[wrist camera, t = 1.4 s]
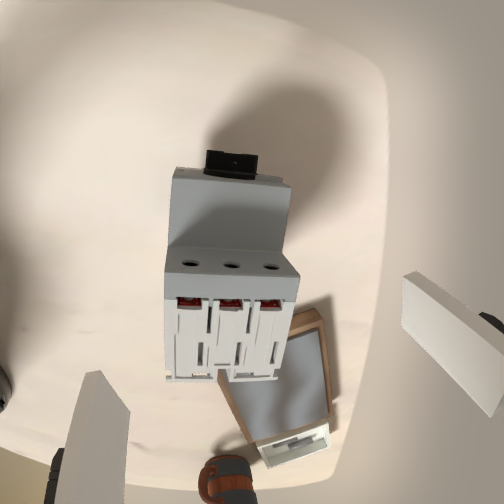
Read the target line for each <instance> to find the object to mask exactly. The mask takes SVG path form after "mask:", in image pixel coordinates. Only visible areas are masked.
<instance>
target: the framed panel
mask: <svg viewBox="0 0 504 504" xmlns="http://www.w3.org/2000/svg"><path fill="white" fill-rule="evenodd" d="M236 374H237V375H249V373H236ZM274 374H277V376H278V379H277V380H266V381H247V382H229V379H228V376H227V372H226V369H218V374H217V381H218V384H219V386H220V388H221V390H222V392H223V394H224V396H225V398H226V400H227V403H228V405H229V407H230V409H231V411H232V413H233V415H234V417H235V419H236V421H237V423H238V425H239V427H240V429H241V431H242V432H243V434H244V436H245V438H246V440H247V442H248V444H250V443H253V442H257V441H260V440H264V439H267V438H270V437H273V436H276V435H280V434H283V433H286V432H289V431H292V430H295V429H297V428H300V427H303V426H306V425H308V424H311V423H314V422H316V421H319V420H322V419H324V418H327V417H329V416H332V415H333V405H332V394H331V384H330V374H329V365H328V356H327V347H326V339H325V331H324V323H323V318H322V317H321V316H320V314H319V313H318V312H317V310H316V309H315V308H314V309H312V310H309V311H306V312H303V313H300V314H297V315H294V316H292V320H291V324H290V329H289V333H288V337H287V342H286V346H285V350H284V354H283V359H282V363H281V367H280V368H279V369H274Z"/></svg>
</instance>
